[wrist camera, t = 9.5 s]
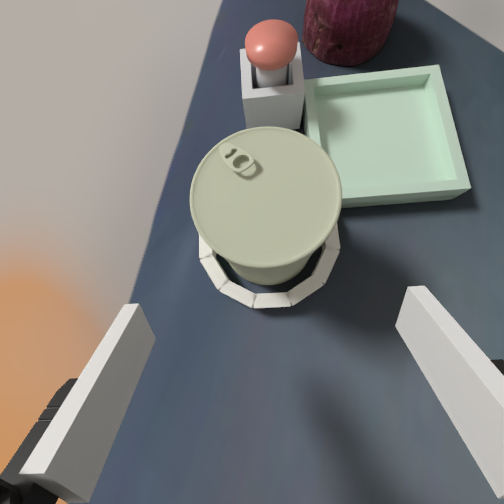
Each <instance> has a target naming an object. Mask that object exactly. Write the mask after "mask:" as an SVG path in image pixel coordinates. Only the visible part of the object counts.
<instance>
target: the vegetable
mask: <svg viewBox="0 0 504 504" xmlns="http://www.w3.org/2000/svg"><path fill="white" fill-rule="evenodd" d="M398 1H399V0H307V3H306V8H305V14H304V25H303V39H302V42H303V43H304V44H305V45H304V46H305V47H306V48H307V50H309V51H310V52H311V53H312V54H313V55H314V56H315V57H316V58H317V59H319V60H321V61H322V62H325V63H328V64H334V65H341V66H356V65H359V64H361V63H364V62H366V61H367V60H369V59H371V58H372V57H374V56H375V55H376V54H377V53H379V52H380V50H381V49H382V47H383V45H384V43H385V41H386V39H387V37H388V35H389V32H390V30H391V27H392V24H393V21H394V18H395V14H396V11H397V6H398Z"/></svg>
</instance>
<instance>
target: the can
mask: <svg viewBox="0 0 504 504" xmlns="http://www.w3.org/2000/svg"><path fill="white" fill-rule="evenodd" d="M341 206H342V186H341V180H340V177H339V174H338V171H337V169H336V167H335V165H334V163H333V161H332V159H331V158H330V157H329V155H328V154H327V153H326V152H325V150H324V149H323V148H322V147H320V146H319V145H318V144H317V143H316V142H315V141H313V140H312V139H310V138H309V137H307V136H305V135H303V134H301V133H299V132H296V131H293V130H290V129H286V128H281V127H272V126H267V127H255V128H250V129H246V130H243V131H240V132H237V133H235V134H233V135H231V136H229V137H227V138H225V139H224V140H222V141H221V142H219V143H218V144H217V145H216V146H214V147H213V148H212V149H211V150H210V151H209V152H208V154H207V155H206V156H205V157H204V158H203V160H202V161H201V163H200V164H199V166H198V168H197V170H196V172H195V175H194V178H193V181H192V184H191V190H190V209H191V214H192V218H193V221H194V224H195V226H196V228H197V230H198V232H199V234H200V236H201V237H202V238H203V240H204V241H205V242H206V243H207V245H208V246H209V247H210V248H211V249H213V250H214V251H215V252H216V253H217V254H219V255H220V256H222V257H223V258H225V259H226V260H227V261H228V262H229V264H230V265H231V267H232V268H233V269H234V270H235V272H236V273H238V274H239V275H240V276H241V277H243V278H244V279H246V280H248V281H250V282H252V283H255V284H260V285H276V284H281V283H284V282H286V281H288V280H290V279H292V278H293V277H295V276H296V275H297V274H299V273H300V272H301V271H302V269H303V268H304V267H305V265H306V264H307V262H308V260H309V258H310V256H311V255H312V254H313V252H314V251H316V250H317V249H318V248H319V247H320V246H321V245H322V244H323V243H324V242H325V241H326V239H327V238H328V237H329V235H330V234H331V232H332V231H333V229H334V227H335V225H336V223H337V221H338V218H339V215H340V211H341Z"/></svg>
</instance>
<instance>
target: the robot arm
mask: <svg viewBox="0 0 504 504" xmlns="http://www.w3.org/2000/svg"><path fill="white" fill-rule="evenodd" d="M395 327H396V328H397V330H398V332H399V333H400V335H401V337H402V338H403V340H404V342H405V343H406V345H407V347H408V349H409V350H410V352H411V354H412V355H413V357H414V359H415V360H416V362H417V364H418V365H419V367H420V369H421V370H422V372H423V374H424V375H425V377H426V379H427V380H428V382H429V384H430V385H431V387H432V389H433V390H434V392H435V394H436V395H437V397H438V399H439V400H440V402H441V404H442V405H443V407H444V409H445V410H446V412H447V414H448V415H449V417H450V419H451V420H452V422H453V424H454V426H455V427H456V429H457V431H458V432H459V434H460V436H461V437H462V439H463V441H464V442H465V444H466V446H467V447H468V449H469V451H470V452H471V454H472V456H473V457H474V459H475V461H476V462H477V464H478V466H479V467H480V469H481V471H482V472H483V474H484V476H485V477H486V479H487V481H488V482H489V484H490V486H491V487H492V489H493V491H494V492H495V494H496V496H497V497H498V499H504V360H502V359H500V360H489V358H488V357H487V356H486V355H485V354H484V353H483V352H482V351H481V349H480V348H479V347H478V346H477V345H476V344H475V343H474V341H473V340H472V339H471V338H470V337H469V336H468V335H467V333H466V332H465V331H464V330H463V329H462V328H461V327H460V325H459V324H458V323H457V322H456V321H455V320H454V319H453V317H452V316H451V315H450V314H449V313H448V312H447V311H446V309H445V308H444V307H443V306H442V305H441V304H440V303H439V301H438V300H437V299H436V298H435V297H434V296H433V295H432V293H431V292H430V291H429V290H428V289H427V288H426V287H425V286H411V287H407V291H406V294H405V297H404V300H403V303H402V306H401V310H400V313H399V316H398V319H397V322H396V325H395ZM154 342H155V336H154V334H153V332H152V330H151V328H150V326H149V324H148V322H147V319H146V317H145V315H144V313H143V311H142V309H141V307H140V305H139V304H126V305H124V306H123V308H122V309H121V311H120V312H119V314H118V316H117V317H116V319H115V321H114V322H113V324H112V325H111V327H110V328H109V330H108V332H107V333H106V335H105V336H104V338H103V340H102V341H101V343H100V345H99V346H98V348H97V349H96V351H95V352H94V354H93V356H92V357H91V359H90V361H89V362H88V364H87V366H86V367H85V368H84V370H83V372H82V373H81V375H80V376H79V378H76V379H69V380H68V381H67V382H66V383H65V384H64V385H63V386H62V387H61V388H60V389H59V390H58V391H57V392H56V393H55V395H54V396H53V398H52V399H51V401H50V402H49V404H48V405H47V408H46V409H45V410H44V411H43V413H42V414H41V416H40V417H39V420H38V422H36V423H35V425H34V426H33V428H32V429H31V431H30V432H29V434H28V435H27V437H26V438H25V439H24V441H23V442H22V444H21V445H20V447H19V448H18V450H17V452H16V453H15V455H14V456H13V457H12V459H11V460H10V462H9V463H8V465H7V466H6V468H5V469H4V471H3V472H2V473H1V475H0V504H55V503H56V502H57V500H58V498H60V499H62V500H64V501H65V502H67V503H80V502H89V501H90V498H91V496H92V493H93V491H94V488H95V486H96V484H97V481H98V479H99V476H100V474H101V471H102V469H103V466H104V464H105V462H106V459H107V457H108V454H109V452H110V449H111V447H112V444H113V442H114V440H115V437H116V435H117V432H118V430H119V427H120V425H121V422H122V420H123V418H124V415H125V413H126V410H127V408H128V405H129V403H130V400H131V398H132V396H133V393H134V391H135V388H136V386H137V383H138V381H139V378H140V376H141V374H142V371H143V369H144V366H145V364H146V361H147V359H148V357H149V354H150V352H151V349H152V347H153V344H154Z"/></svg>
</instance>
